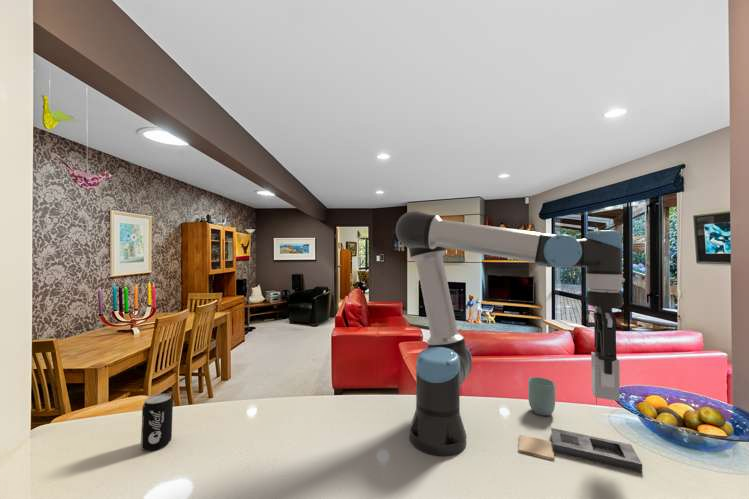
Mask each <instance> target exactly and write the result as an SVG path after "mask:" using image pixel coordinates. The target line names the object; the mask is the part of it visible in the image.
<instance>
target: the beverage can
mask: <svg viewBox="0 0 749 499" xmlns="http://www.w3.org/2000/svg"><path fill="white" fill-rule="evenodd" d="M173 402H174V401H173V399H172V395H171V394H170V393H158V394H154V395H150V396H148V397H146V398H145V400H144V403H143V405H142V410H141V411H142V412H141V431H140V432H141V433H140V435H141V436H140V438H141V439H140V447H141V448H142V449H143V451H146V452H153V451H157V450H160V449H163V448H165V447H166V446H168V445H169V443H170V442H171V441H172V436H173V435H172V434H173V411H174V410H173V407H174V403H173Z"/></svg>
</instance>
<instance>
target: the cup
mask: <svg viewBox="0 0 749 499" xmlns="http://www.w3.org/2000/svg"><path fill="white" fill-rule="evenodd" d="M527 391H528V392H527V393H528V394H527V396H528V404H529V407H530V409H531V410H532V411H533V412H534V413H535V414H537V415H540V416H550V415H552V414H553V413H554V411H555V407H556V384H555V382H554V381H553V380H551V379H549V378H545V377H540V376H539V377H537V376H534V377H533V376H532V377H528V381H527Z"/></svg>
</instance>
